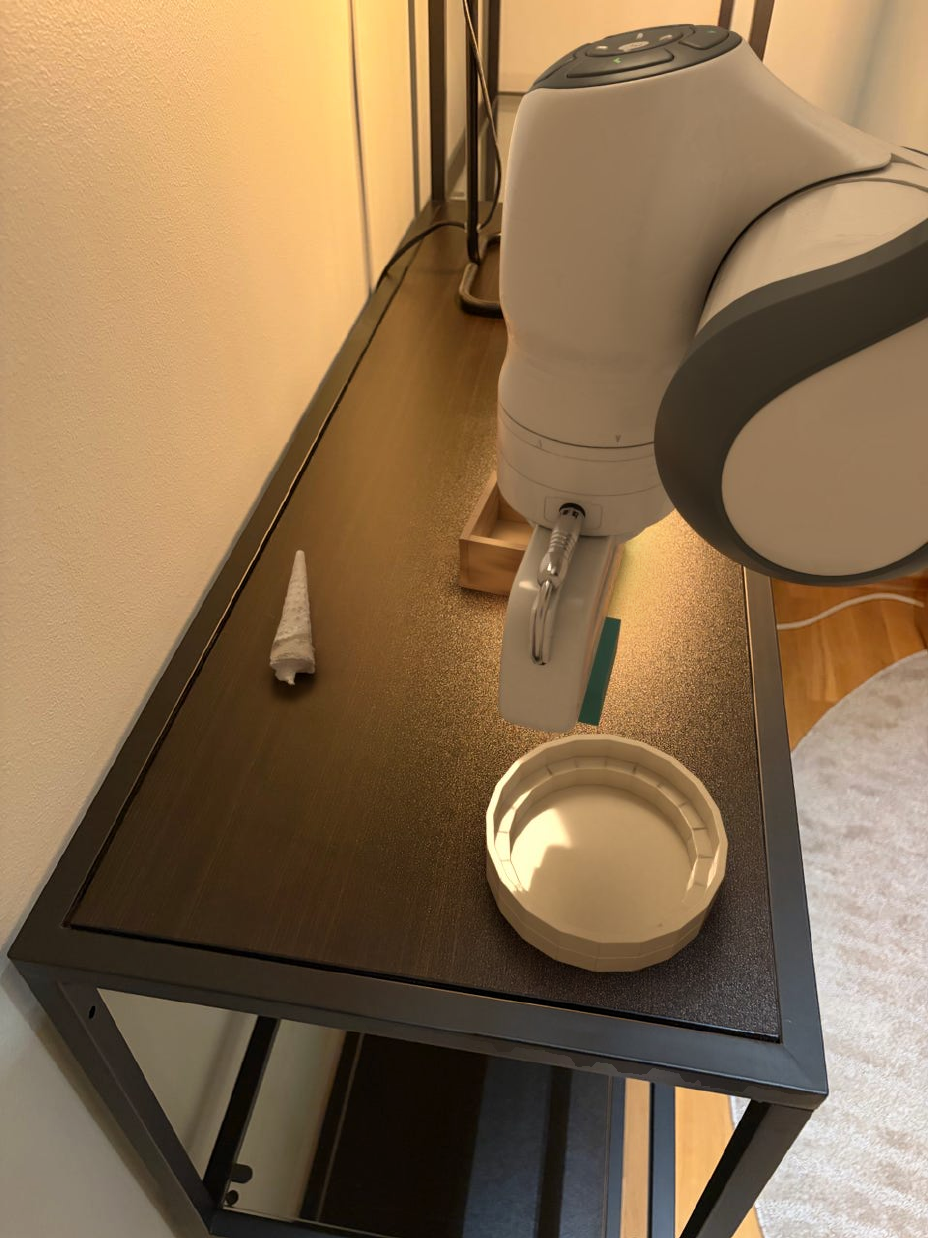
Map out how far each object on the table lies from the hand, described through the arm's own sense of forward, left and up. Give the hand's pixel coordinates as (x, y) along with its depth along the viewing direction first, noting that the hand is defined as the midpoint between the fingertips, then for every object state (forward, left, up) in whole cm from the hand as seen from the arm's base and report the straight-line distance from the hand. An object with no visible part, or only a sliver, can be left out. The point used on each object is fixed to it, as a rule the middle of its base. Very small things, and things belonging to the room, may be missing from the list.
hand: (571, 655), depth 50 cm
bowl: (-4, +3, -16) cm, 17 cm away
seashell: (+24, -11, -16) cm, 31 cm away
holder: (+7, -26, -16) cm, 31 cm away
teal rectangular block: (0, 0, -2) cm, 2 cm away
